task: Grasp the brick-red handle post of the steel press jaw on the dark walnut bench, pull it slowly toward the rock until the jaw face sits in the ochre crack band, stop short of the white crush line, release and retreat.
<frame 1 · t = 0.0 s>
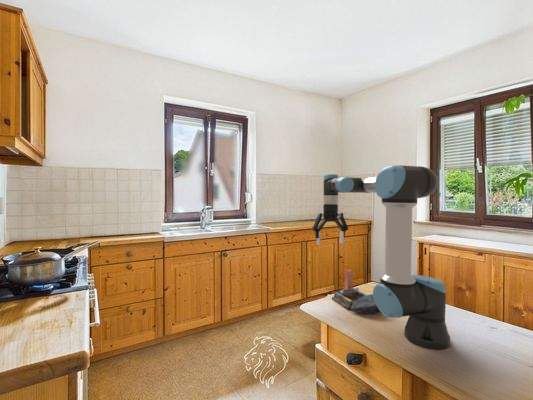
hand: (330, 244, 149), 28 cm above the counter, fingers open, 13 cm apart
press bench: (353, 302, 142), on the counter
rock: (369, 313, 130), on the counter
press jaw: (348, 283, 146), point 8 cm above the counter, slide at 0.0 cm
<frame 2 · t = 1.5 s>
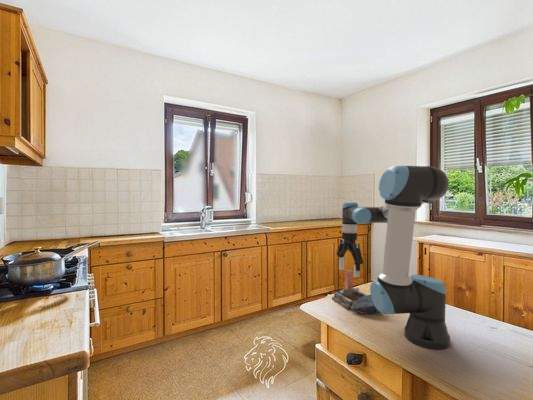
hand: (348, 273, 146), 14 cm above the counter, fingers open, 13 cm apart
nothing on the counter moved.
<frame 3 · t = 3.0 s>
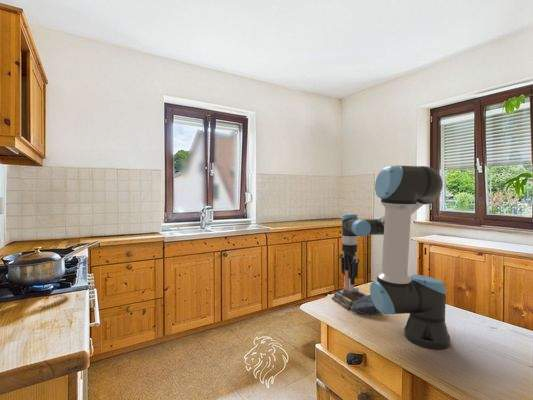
hand: (349, 289, 145), 6 cm above the counter, fingers closed on press jaw, 3 cm apart
press jaw: (348, 283, 146), point 8 cm above the counter, slide at -0.1 cm, touching gripper
everything else where it was.
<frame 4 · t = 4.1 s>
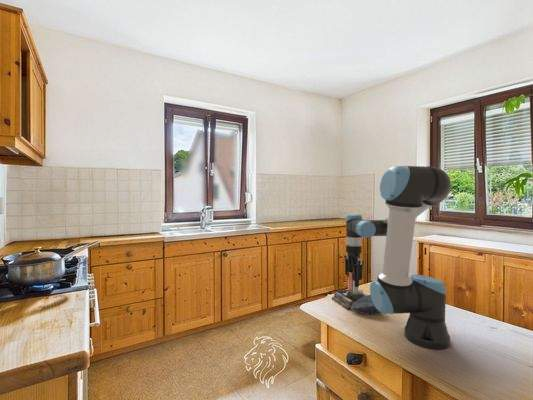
hand: (353, 291, 142), 6 cm above the counter, fingers closed on press jaw, 3 cm apart
press jaw: (352, 285, 142), point 8 cm above the counter, slide at 3.5 cm, touching gripper
everything else where it was.
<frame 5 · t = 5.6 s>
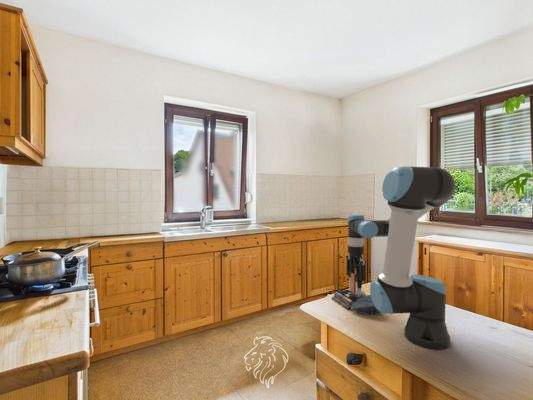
hand: (355, 292, 140), 6 cm above the counter, fingers open, 5 cm apart
press jaw: (354, 287, 140), point 8 cm above the counter, slide at 5.3 cm
everything else where it was.
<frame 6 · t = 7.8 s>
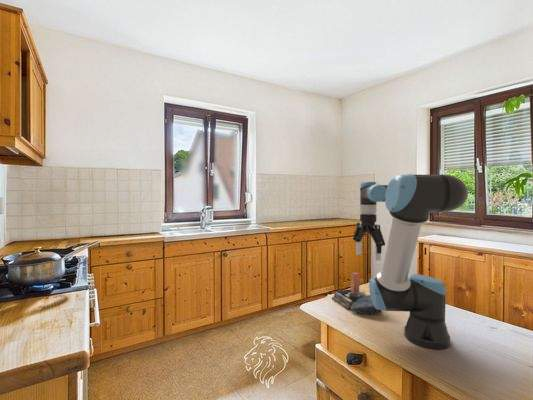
hand: (367, 257, 137), 24 cm above the counter, fingers open, 13 cm apart
nothing on the counter moved.
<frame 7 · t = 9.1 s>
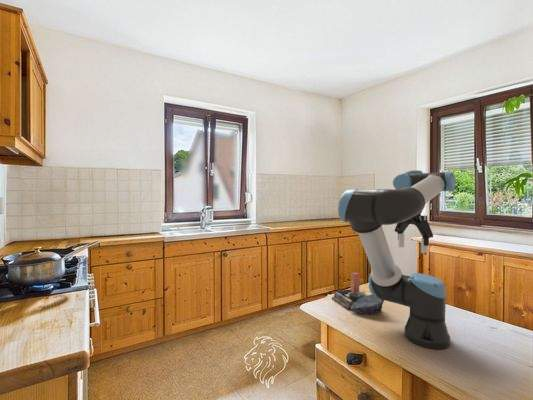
hand: (412, 249, 131), 29 cm above the counter, fingers open, 13 cm apart
nothing on the counter moved.
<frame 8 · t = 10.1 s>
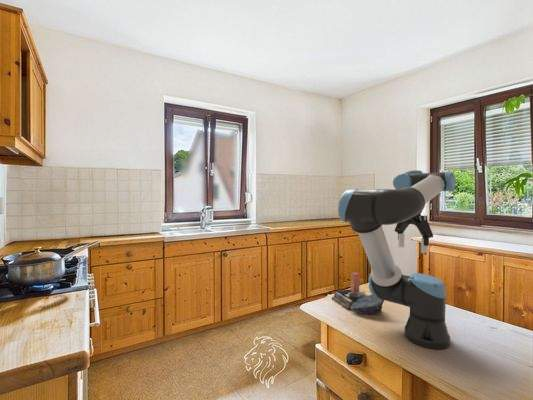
hand: (412, 249, 131), 29 cm above the counter, fingers open, 13 cm apart
nothing on the counter moved.
at the end: press jaw slide at 5.3 cm; the gripper is holding nothing; rock moved 0.7 cm from its start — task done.
